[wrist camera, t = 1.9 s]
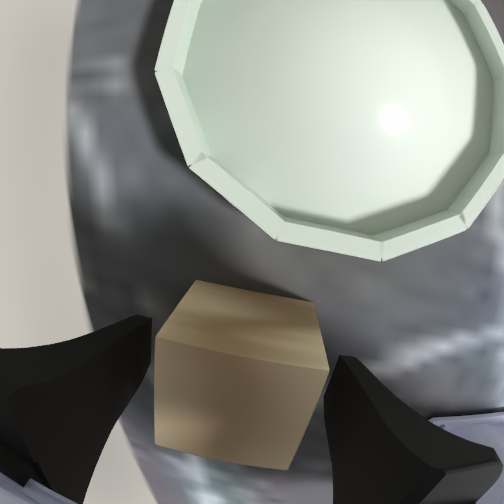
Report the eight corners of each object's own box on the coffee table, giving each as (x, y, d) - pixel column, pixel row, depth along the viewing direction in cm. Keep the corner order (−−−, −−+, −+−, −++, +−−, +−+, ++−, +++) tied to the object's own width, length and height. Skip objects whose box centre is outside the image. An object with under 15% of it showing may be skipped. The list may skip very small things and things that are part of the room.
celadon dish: (491, 6, 8) (511, -7, 6) (465, 274, 11) (488, 290, 9) (213, -69, 8) (206, -92, 6) (146, 211, 11) (124, 218, 10)
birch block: (313, 301, 12) (329, 370, 8) (286, 391, 13) (287, 470, 9) (196, 278, 12) (155, 336, 8) (186, 372, 13) (155, 444, 9)
